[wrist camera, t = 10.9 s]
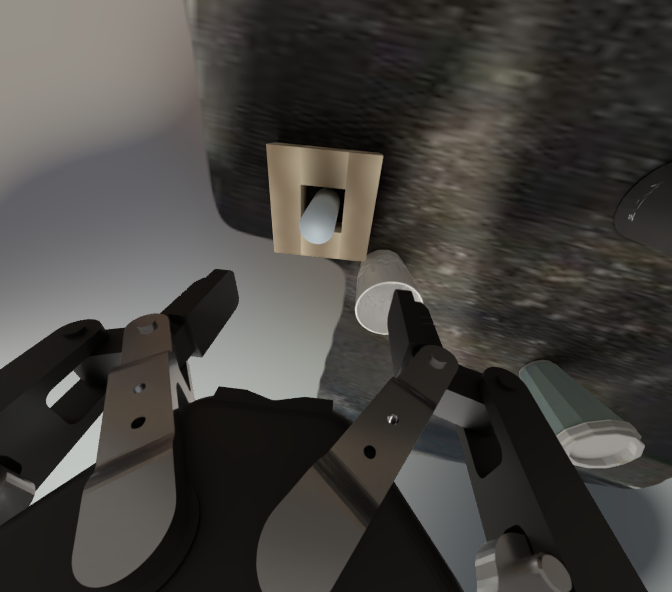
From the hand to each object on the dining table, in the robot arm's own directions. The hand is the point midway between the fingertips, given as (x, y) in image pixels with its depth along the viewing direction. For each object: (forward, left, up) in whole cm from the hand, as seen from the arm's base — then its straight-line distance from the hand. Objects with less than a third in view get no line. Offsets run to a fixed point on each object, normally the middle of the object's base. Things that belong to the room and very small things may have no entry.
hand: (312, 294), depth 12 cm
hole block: (+2, +1, -22) cm, 23 cm away
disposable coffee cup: (-41, +28, -23) cm, 55 cm away
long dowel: (+1, +1, -22) cm, 22 cm away
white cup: (-7, +10, -23) cm, 26 cm away
